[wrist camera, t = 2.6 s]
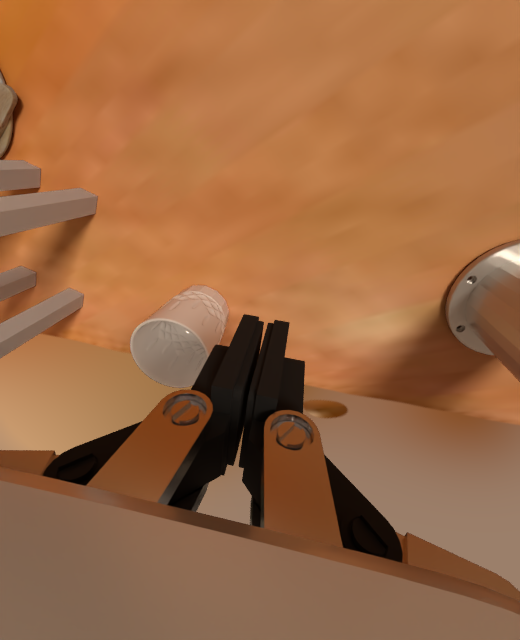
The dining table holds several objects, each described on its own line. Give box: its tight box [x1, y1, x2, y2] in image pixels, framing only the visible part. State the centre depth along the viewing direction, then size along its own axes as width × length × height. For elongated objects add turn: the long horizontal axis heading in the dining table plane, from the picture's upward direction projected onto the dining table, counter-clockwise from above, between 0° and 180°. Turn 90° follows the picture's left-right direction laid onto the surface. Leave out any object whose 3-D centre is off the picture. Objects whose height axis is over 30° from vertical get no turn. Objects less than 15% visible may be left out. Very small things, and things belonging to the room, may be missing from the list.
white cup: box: [130, 285, 229, 388], centre depth 33 cm, size 8×8×10 cm
